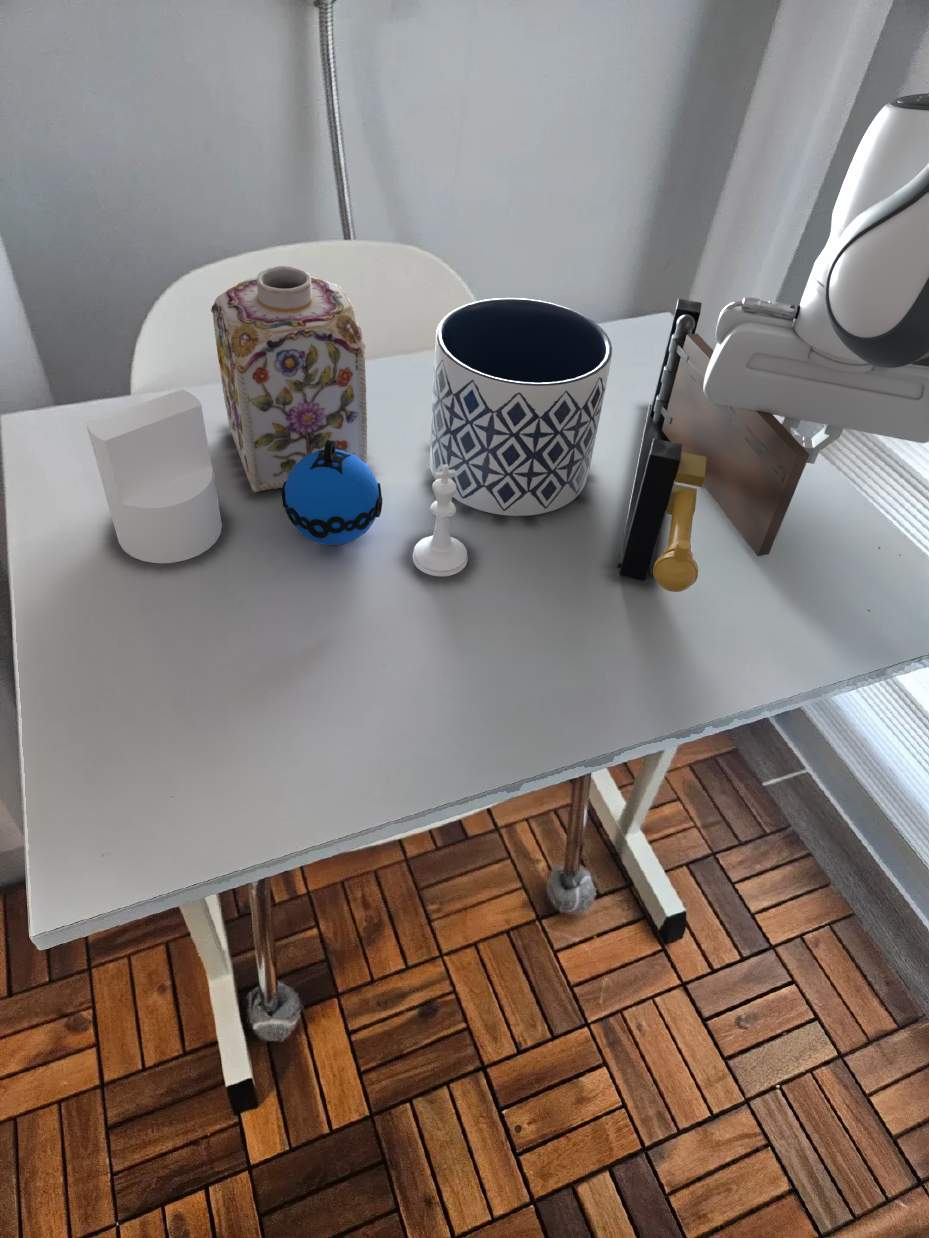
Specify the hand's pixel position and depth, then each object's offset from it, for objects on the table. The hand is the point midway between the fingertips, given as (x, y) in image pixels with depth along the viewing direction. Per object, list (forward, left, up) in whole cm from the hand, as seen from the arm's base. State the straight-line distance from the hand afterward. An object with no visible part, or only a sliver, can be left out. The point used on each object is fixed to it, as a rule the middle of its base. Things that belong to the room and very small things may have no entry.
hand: (796, 457), depth 82 cm
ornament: (+39, +16, -7) cm, 43 cm away
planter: (+26, +1, -7) cm, 27 cm away
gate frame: (+11, -1, -7) cm, 13 cm away
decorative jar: (+47, +5, -7) cm, 48 cm away
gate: (+7, -3, -6) cm, 10 cm away
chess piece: (+29, +16, -7) cm, 34 cm away
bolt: (+10, +19, +1) cm, 22 cm away
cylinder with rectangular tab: (+53, +20, -7) cm, 57 cm away
